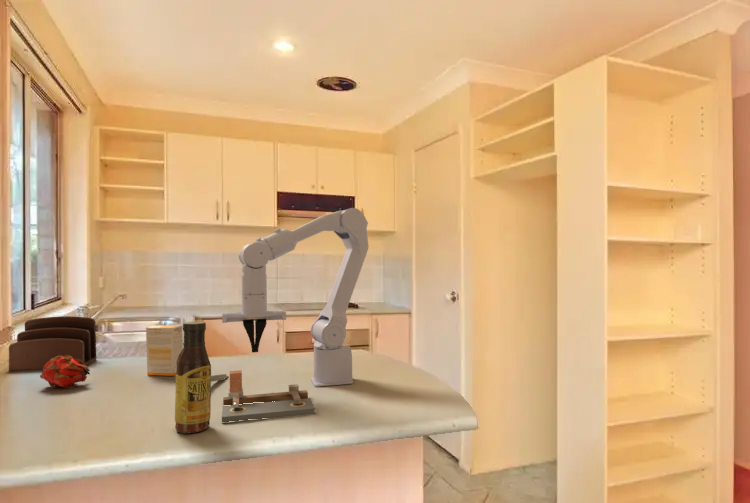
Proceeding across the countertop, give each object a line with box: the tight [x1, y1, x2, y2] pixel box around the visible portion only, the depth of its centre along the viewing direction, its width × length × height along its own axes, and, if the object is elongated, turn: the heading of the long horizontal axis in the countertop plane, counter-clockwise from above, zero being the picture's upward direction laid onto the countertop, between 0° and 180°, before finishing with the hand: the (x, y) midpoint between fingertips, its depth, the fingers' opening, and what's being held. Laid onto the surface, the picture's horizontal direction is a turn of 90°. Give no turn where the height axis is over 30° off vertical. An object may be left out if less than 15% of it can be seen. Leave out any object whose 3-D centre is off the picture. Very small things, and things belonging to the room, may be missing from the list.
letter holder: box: [8, 315, 97, 372], centre depth 147 cm, size 10×20×14 cm, turn 100°
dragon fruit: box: [39, 355, 91, 389], centre depth 123 cm, size 8×8×12 cm
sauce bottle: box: [174, 321, 212, 434], centre depth 93 cm, size 7×6×20 cm
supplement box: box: [145, 324, 184, 377], centre depth 135 cm, size 8×5×13 cm, turn 80°
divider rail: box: [222, 383, 309, 405], centre depth 105 cm, size 18×10×3 cm, turn 106°
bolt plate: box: [221, 397, 316, 423], centre depth 101 cm, size 18×7×1 cm, turn 106°
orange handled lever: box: [228, 369, 244, 409], centre depth 104 cm, size 3×10×6 cm, turn 15°
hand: (255, 351), depth 117 cm, fingers closed
